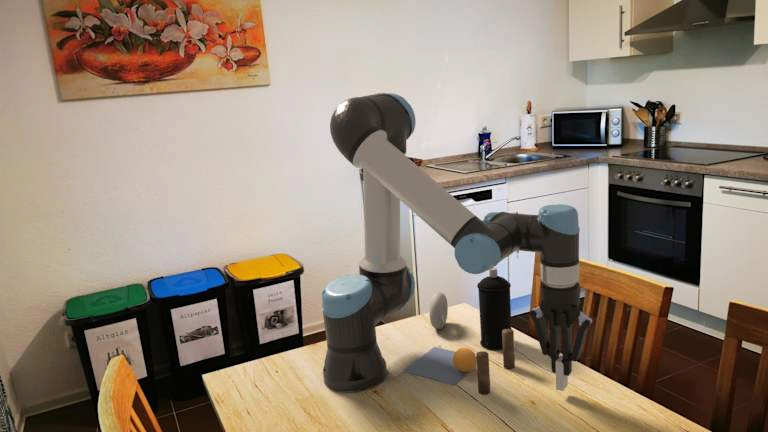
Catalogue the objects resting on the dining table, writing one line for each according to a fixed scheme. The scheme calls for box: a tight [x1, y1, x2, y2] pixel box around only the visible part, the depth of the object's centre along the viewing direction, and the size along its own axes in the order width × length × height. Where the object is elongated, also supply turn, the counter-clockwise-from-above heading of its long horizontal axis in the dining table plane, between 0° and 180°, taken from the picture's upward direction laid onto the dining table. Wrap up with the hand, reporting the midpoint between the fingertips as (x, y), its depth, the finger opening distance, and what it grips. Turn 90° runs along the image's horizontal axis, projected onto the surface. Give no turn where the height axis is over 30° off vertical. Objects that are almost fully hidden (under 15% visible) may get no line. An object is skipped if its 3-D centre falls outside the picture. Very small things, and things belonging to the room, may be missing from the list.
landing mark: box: [402, 346, 477, 386], centre depth 145 cm, size 14×14×1 cm
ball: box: [453, 347, 477, 373], centre depth 141 cm, size 6×6×6 cm
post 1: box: [475, 350, 491, 396], centre depth 131 cm, size 3×3×9 cm
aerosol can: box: [476, 267, 512, 351], centre depth 152 cm, size 8×8×20 cm
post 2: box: [502, 328, 516, 370], centre depth 141 cm, size 3×3×9 cm
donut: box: [429, 291, 449, 330], centre depth 165 cm, size 10×4×10 cm, turn 161°
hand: (561, 387), depth 128 cm, fingers closed
